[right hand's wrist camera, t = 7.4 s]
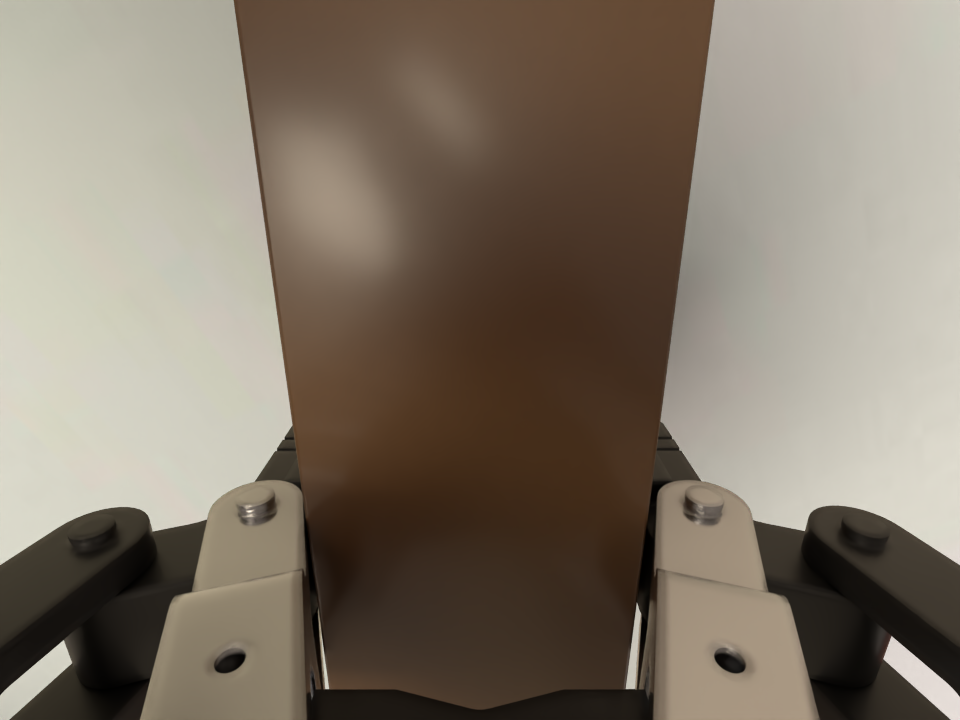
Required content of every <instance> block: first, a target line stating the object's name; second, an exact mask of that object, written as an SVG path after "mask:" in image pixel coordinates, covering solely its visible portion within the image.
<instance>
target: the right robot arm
mask: <svg viewBox="0 0 960 720" xmlns="http://www.w3.org/2000/svg"><path fill="white" fill-rule="evenodd" d="M637 603H638V606H639V609H640V612H641V618H640V625H639V637H638V652H637V667H636V681H635V689H563V690H559V691H555V692H552V693H548V694H544V695H540V696H536V697H532V698H528V699H524V700H520V701H517V702H513V703H509V704H505V705H501V706H497V707H493V708H489V709H483V710H477V709H471V708H467V707H463V706H459V705H455V704H451V703H447V702H443V701H440V700H436V699H432V698H428V697H424V696H420V695H416V694H412V693H408V692H405V691H401V690H397V689H325V682H324V667H323V653H322V638H321V625H320V618H319V611H318V604H317V596H316V589H315V582H314V575H313V568H312V560H311V553H310V546H309V539H308V532H307V524H306V517H305V510H304V503H303V496H302V488H301V481H300V474H299V467H298V460H297V452H296V445H295V438H294V431H293V426H292V427H291V429H290V430H289V432H288V433H287V435H286V436H285V440H283V441H282V442H281V444H280V445H279V447H278V448H277V451H275V452H274V454H273V455H272V457H271V458H270V460H269V461H268V463H267V464H266V466H265V467H264V469H263V470H262V472H261V473H260V475H259V476H258V478H257V479H256V481H255V482H253V483H249V484H245V485H242V486H240V487H237V488H235V489H233V490H231V491H229V492H227V493H226V494H224V495H223V496H221V497H220V498H219V499H218V500H217V501H216V502H215V503H214V504H213V505H212V507H211V509H210V511H209V514H208V519H207V520H204V521H201V522H198V523H193V524H189V525H184V526H179V527H174V528H169V529H164V530H159V531H154V532H153V531H152V528H151V524H150V520H149V517H148V515H147V514H146V513H145V512H143V511H142V510H139V509H136V508H130V507H117V508H109V509H103V510H99V511H95V512H92V513H89V514H86V515H83V516H81V517H78V518H76V519H74V520H72V521H69V522H67V523H66V524H64V525H62V526H60V527H59V528H57V529H56V530H54V531H52V532H51V533H49V534H48V535H46V536H45V537H43V538H42V539H40V540H39V541H37V542H35V543H34V544H32V545H31V546H29V547H28V548H26V549H25V550H23V551H22V552H20V553H18V554H17V555H15V556H14V557H12V558H11V559H9V560H8V561H6V562H5V563H3V564H1V565H0V695H1V694H2V693H3V691H4V690H5V689H6V688H8V687H9V686H10V685H11V684H12V683H13V682H14V681H16V680H17V679H18V678H19V677H20V676H22V675H23V674H24V673H25V672H26V671H27V670H29V669H30V668H31V667H32V666H33V665H35V664H36V663H37V662H38V661H39V660H40V659H42V658H43V657H44V656H45V655H46V654H48V653H49V652H50V651H51V650H52V649H53V648H55V647H56V646H57V645H58V644H59V643H61V642H62V641H63V640H64V641H65V644H66V647H67V650H68V652H69V655H70V658H71V661H72V664H71V665H70V666H69V667H68V668H67V669H65V670H64V671H63V672H62V673H61V674H60V675H59V676H58V677H57V678H55V679H54V680H53V681H52V682H51V683H50V684H49V685H48V686H47V687H45V688H44V689H43V690H42V691H41V692H40V693H39V694H38V695H37V696H35V697H34V698H33V699H32V700H31V701H30V702H29V703H28V704H27V705H25V706H24V707H23V708H22V709H21V710H20V711H19V712H18V713H17V714H15V715H14V716H13V717H12V718H11V719H10V720H950V719H949V718H948V717H947V716H946V715H945V714H943V713H942V712H941V711H940V710H939V709H938V708H937V707H936V706H935V705H933V704H932V703H931V702H930V701H929V700H928V699H927V698H926V697H925V696H923V695H922V694H921V693H920V692H919V691H918V690H917V689H916V688H915V687H913V686H912V685H911V684H910V683H909V682H908V681H907V680H906V679H905V678H903V677H902V676H901V675H900V674H899V673H898V672H897V671H896V670H895V669H893V668H892V667H891V666H890V665H889V664H888V663H887V662H886V661H885V660H883V658H884V655H885V652H886V649H887V647H888V644H889V641H890V638H891V636H892V637H894V638H895V639H896V640H897V641H898V642H899V643H901V644H902V645H903V646H904V647H905V648H907V649H908V650H909V651H910V652H911V653H912V654H914V655H915V656H916V657H917V658H918V659H920V660H921V661H922V662H923V663H924V664H925V665H927V666H928V667H929V668H930V669H931V670H933V671H934V672H935V673H936V674H937V675H938V676H940V677H941V678H942V679H943V680H944V681H946V682H947V683H948V684H949V685H950V686H951V687H952V688H953V689H954V690H955V691H956V692H957V694H958V695H959V696H960V565H958V564H957V563H955V562H954V561H952V560H951V559H949V558H948V557H946V556H945V555H943V554H941V553H940V552H938V551H937V550H935V549H934V548H932V547H931V546H929V545H928V544H926V543H924V542H923V541H921V540H920V539H918V538H917V537H915V536H914V535H912V534H911V533H909V532H907V531H906V530H904V529H903V528H901V527H900V526H898V525H896V524H895V523H893V522H891V521H889V520H887V519H885V518H883V517H881V516H878V515H876V514H873V513H870V512H867V511H864V510H860V509H856V508H851V507H846V506H825V507H821V508H817V509H816V510H814V511H813V512H812V513H811V514H810V516H809V518H808V522H807V526H806V530H805V531H801V530H796V529H791V528H786V527H781V526H776V525H770V524H766V523H761V522H757V521H754V520H753V519H752V514H751V511H750V509H749V507H748V506H747V504H746V503H745V502H744V501H743V500H742V499H741V498H740V497H738V496H737V495H736V494H734V493H733V492H731V491H729V490H727V489H725V488H723V487H720V486H718V485H715V484H711V483H707V482H703V481H701V480H700V479H699V477H698V476H697V474H696V473H695V471H694V470H693V468H692V466H691V465H690V463H689V462H688V460H687V459H686V457H685V456H684V454H683V453H682V451H679V447H678V445H677V444H676V442H675V441H674V439H672V436H671V435H670V433H669V432H668V430H667V429H666V427H665V426H664V424H663V423H662V422H660V427H659V435H658V442H657V450H656V458H655V465H654V473H653V481H652V489H651V496H650V504H649V512H648V519H647V527H646V535H645V543H644V550H643V558H642V566H641V573H640V581H639V589H638V596H637Z"/></svg>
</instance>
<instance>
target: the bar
mask: <svg viewBox="0 0 960 720" xmlns="http://www.w3.org/2000/svg"><path fill="white" fill-rule="evenodd" d="M714 3H715V0H234V6H235V13H236V20H237V28H238V35H239V42H240V49H241V56H242V64H243V71H244V78H245V85H246V92H247V100H248V107H249V114H250V121H251V128H252V136H253V143H254V150H255V157H256V164H257V172H258V179H259V186H260V193H261V200H262V208H263V215H264V222H265V229H266V236H267V244H268V251H269V258H270V265H271V272H272V280H273V287H274V294H275V301H276V308H277V316H278V323H279V330H280V337H281V344H282V352H283V359H284V366H285V373H286V380H287V388H288V395H289V402H290V409H291V416H292V424H293V431H294V438H295V445H296V452H297V460H298V467H299V474H300V481H301V488H302V496H303V503H304V510H305V517H306V524H307V532H308V539H309V546H310V553H311V560H312V568H313V575H314V582H315V589H316V596H317V604H318V611H319V618H320V625H321V632H322V640H323V647H324V654H325V661H326V668H327V676H328V683H329V689H397V690H401V691H405V692H408V693H412V694H416V695H420V696H424V697H428V698H432V699H436V700H440V701H443V702H447V703H451V704H455V705H459V706H463V707H467V708H471V709H477V710H483V709H489V708H493V707H497V706H501V705H505V704H509V703H513V702H517V701H520V700H524V699H528V698H532V697H536V696H540V695H544V694H548V693H552V692H555V691H559V690H563V689H626V681H627V674H628V666H629V658H630V650H631V643H632V635H633V627H634V620H635V612H636V604H637V596H638V589H639V581H640V573H641V566H642V558H643V550H644V543H645V535H646V527H647V519H648V512H649V504H650V496H651V489H652V481H653V473H654V465H655V458H656V450H657V442H658V435H659V427H660V419H661V412H662V404H663V396H664V388H665V381H666V373H667V365H668V358H669V350H670V342H671V334H672V327H673V319H674V311H675V304H676V296H677V288H678V281H679V273H680V265H681V257H682V250H683V242H684V234H685V227H686V219H687V211H688V203H689V196H690V188H691V180H692V173H693V165H694V157H695V150H696V142H697V134H698V126H699V119H700V111H701V103H702V96H703V88H704V80H705V72H706V65H707V57H708V49H709V42H710V34H711V26H712V19H713V11H714Z"/></svg>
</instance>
